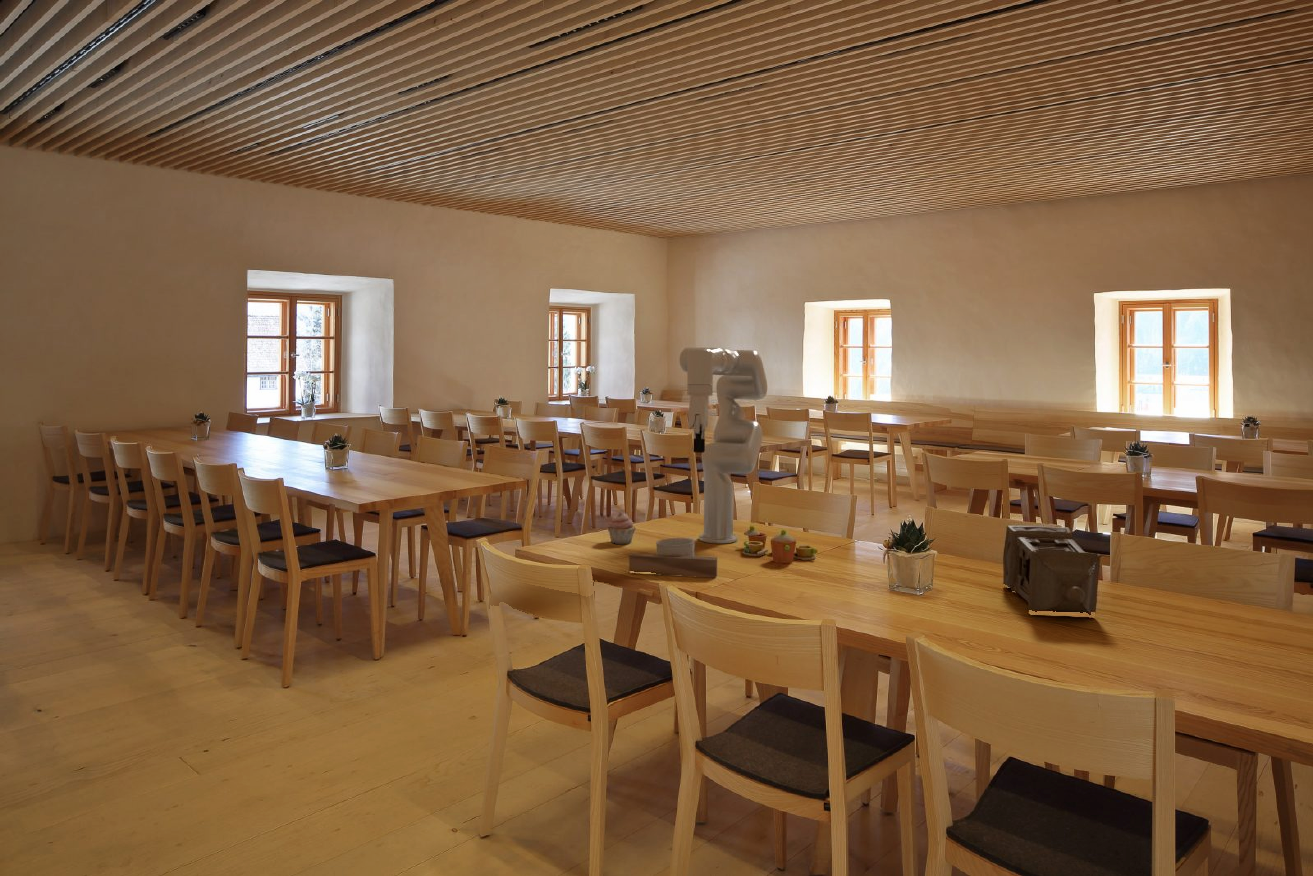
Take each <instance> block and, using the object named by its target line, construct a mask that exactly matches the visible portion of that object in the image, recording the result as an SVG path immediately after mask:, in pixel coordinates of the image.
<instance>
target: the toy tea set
mask: <svg viewBox="0 0 1313 876" xmlns="http://www.w3.org/2000/svg"><path fill="white" fill-rule="evenodd" d="M743 535H744V536H747V537H748V541H747V540H745V541H744V542H743V546H744V550H743V552H742V553H743V554H744V555H745V556H748V557H762V555H763V556H764V555H766V553H767V552H769V549H766V543H767V536H768V535H767V534H766V533H763V532H759V531H758V530H756V529H755V526H753V525H750V526H749V529H747V530H745V531H743ZM762 548H764V549H762ZM770 548H771V555H772V561H773V562H774V563H776V564H782V563H787V564H792V563H793V562H794V559H796V560H799V559H801V560H800V561H811V560H814V559H815V558H817V557H816V555H817V554H818V549H817V548H815V547H814V546H813V545H809V544H808V545H807V544H800V545H797V540H796V538H794V537H793V536H792V535H791V534H789V533H787V531H786V530H785V529H782V530H781V531H780V533H778V534H775V535H774V537H772V538H770Z"/></svg>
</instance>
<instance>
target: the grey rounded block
mask: <svg viewBox="0 0 1313 876" xmlns="http://www.w3.org/2000/svg"><path fill="white" fill-rule="evenodd" d="M655 544H656V555H676V556H695V547H696V542H695V539H694V538H693V537H687V538H686V537H671V538H664V539H660V540H657V541H656V542H655Z"/></svg>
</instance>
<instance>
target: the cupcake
mask: <svg viewBox="0 0 1313 876" xmlns="http://www.w3.org/2000/svg"><path fill="white" fill-rule="evenodd" d="M606 529H607V531H608V534H609V536H610V541H611V543H612V544H614V543H615V544H614V545H629V544H631V543H632V541H633V537H634V533H635V531H636V529H637V528H636V526H634V522H633V521H632V519H631V518H630V517H629V516H628V514H627V513H625V512H622V511H620V512H619V513H618V515H616V516H613V517H612V519H611V521H609V523H608V527H606Z"/></svg>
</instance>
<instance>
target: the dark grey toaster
mask: <svg viewBox="0 0 1313 876" xmlns="http://www.w3.org/2000/svg"><path fill="white" fill-rule="evenodd" d="M1004 540H1005V541H1004V546H1003V552H1002V553H1003V555H1002V567H1003V568H1002V570H1003V579H1002V585H1003V584H1005V585H1007V586H1008V587H1010V588H1011V589H1010V590H1011V591H1015V592H1017V593H1016V594H1018V595H1020V597H1022V598H1023V599H1024V600H1025V601H1026V602H1027V604H1028V605H1027V611H1028V610H1032V611H1035V612H1037V611H1053V612H1055V611H1056V612H1080V613H1083V612H1086V613H1088V614H1089V615H1091V612H1096V613H1097V602H1098V589H1099V588H1098V586H1099V576H1100V575H1099V574H1100V566H1101V565H1100V564H1101V558H1102V556H1103V555H1102V554H1101V553H1094V552H1085V551H1084V550H1083V549H1082V547H1081V546H1080V545H1079V544H1078V543H1077V542H1076V538H1075V537H1073V534H1072V531H1071V528H1070V527H1067V526H1065V527H1064V526H1063V527H1061V526H1060V527H1058V526H1045V525H1006V532H1005V539H1004Z"/></svg>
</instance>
